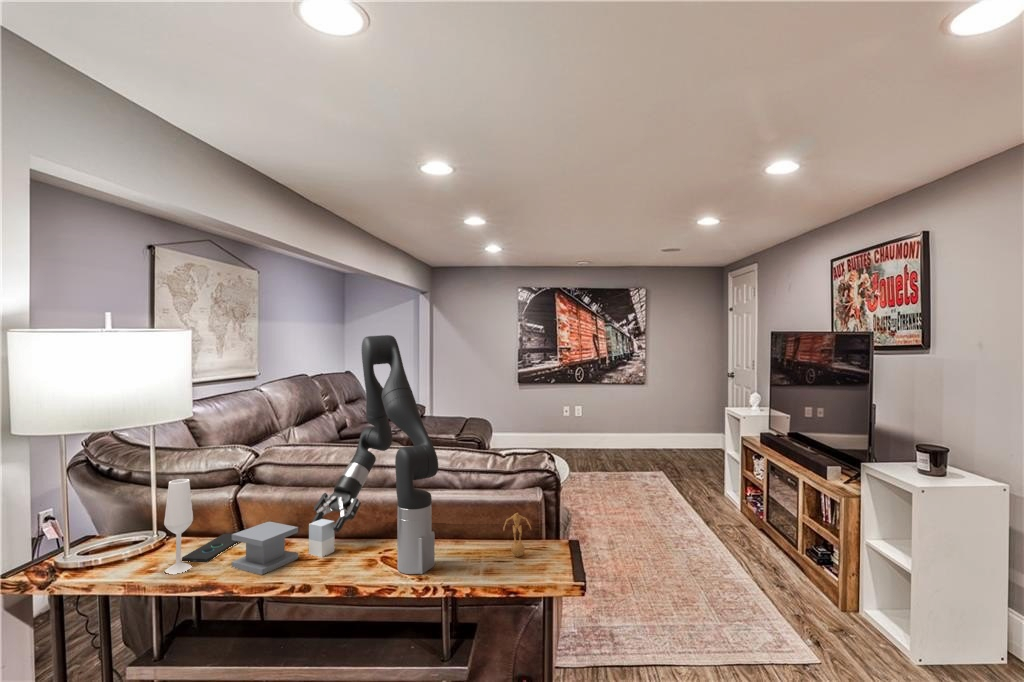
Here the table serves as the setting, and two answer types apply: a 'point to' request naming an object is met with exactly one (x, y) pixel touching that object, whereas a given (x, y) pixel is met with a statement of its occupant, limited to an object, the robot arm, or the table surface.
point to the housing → (321, 537)
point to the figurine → (518, 547)
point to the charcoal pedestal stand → (265, 547)
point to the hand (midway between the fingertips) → (324, 528)
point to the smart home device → (210, 549)
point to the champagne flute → (178, 518)
